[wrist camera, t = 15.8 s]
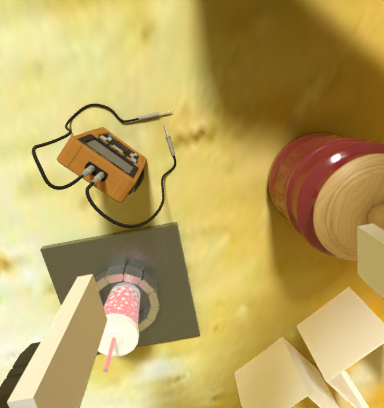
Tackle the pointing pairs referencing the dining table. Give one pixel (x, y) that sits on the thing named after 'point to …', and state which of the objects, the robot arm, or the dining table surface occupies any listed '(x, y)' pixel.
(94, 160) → the multimeter
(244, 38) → the dining table surface
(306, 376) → the desk organizer
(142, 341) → the cup holder
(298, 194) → the canister
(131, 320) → the beverage cup
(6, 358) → the dining table surface
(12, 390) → the robot arm
